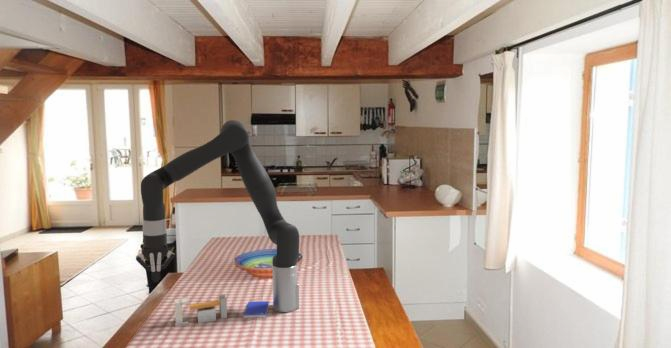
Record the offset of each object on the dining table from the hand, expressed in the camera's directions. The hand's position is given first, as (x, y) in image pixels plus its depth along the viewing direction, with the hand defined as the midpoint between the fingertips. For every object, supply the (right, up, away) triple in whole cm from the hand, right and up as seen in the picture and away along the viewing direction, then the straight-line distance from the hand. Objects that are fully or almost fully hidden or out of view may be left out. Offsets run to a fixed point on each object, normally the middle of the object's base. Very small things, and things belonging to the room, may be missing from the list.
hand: (156, 281), depth 161 cm
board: (+14, -16, +7) cm, 22 cm away
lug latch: (+8, -15, +4) cm, 18 cm away
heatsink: (+15, -16, +7) cm, 23 cm away
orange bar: (+16, -11, +7) cm, 20 cm away
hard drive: (+32, -16, +17) cm, 39 cm away
